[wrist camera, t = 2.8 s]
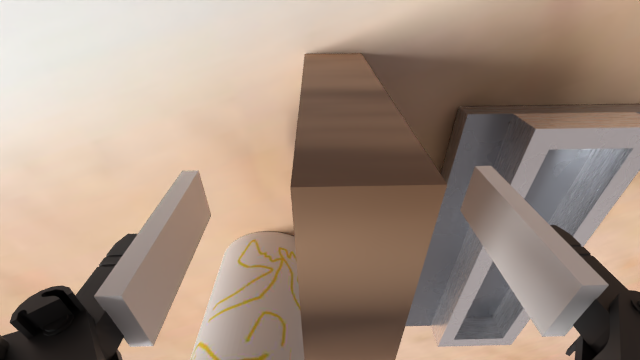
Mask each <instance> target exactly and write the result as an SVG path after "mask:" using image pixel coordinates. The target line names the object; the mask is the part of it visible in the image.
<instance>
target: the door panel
mask: <svg viewBox="0 0 640 360" xmlns="http://www.w3.org/2000/svg"><path fill="white" fill-rule="evenodd" d="M446 187H447V183H446V182H445V180H444V179H443V177H442V176H441V174H440V173H439V171H438V170H437V168H436V167H435V165H434V164H433V162H432V160H431V159H430V157H429V156H428V154H427V153H426V151H425V150H424V148H423V147H422V145H421V144H420V142H419V141H418V139H417V138H416V136H415V135H414V133H413V131H412V130H411V128H410V127H409V125H408V124H407V122H406V121H405V119H404V118H403V116H402V115H401V113H400V112H399V110H398V109H397V107H396V106H395V104H394V102H393V101H392V99H391V98H390V96H389V95H388V93H387V92H386V90H385V89H384V87H383V86H382V84H381V83H380V81H379V80H378V78H377V77H376V75H375V73H374V72H373V70H372V69H371V67H370V66H369V64H368V63H367V61H366V60H365V58H364V57H363V55H362V54H361V53H351V54H305V57H304V67H303V76H302V85H301V95H300V104H299V113H298V123H297V132H296V141H295V151H294V160H293V169H292V179H291V199H292V212H293V224H294V237H295V249H296V261H297V274H298V286H299V299H300V311H301V324H302V336H303V349H304V360H395V358H396V355H397V352H398V348H399V345H400V342H401V338H402V335H403V332H404V328H405V325H406V322H407V318H408V315H409V311H410V308H411V305H412V301H413V298H414V295H415V291H416V288H417V285H418V281H419V278H420V275H421V271H422V268H423V264H424V261H425V258H426V254H427V251H428V248H429V244H430V241H431V238H432V234H433V231H434V228H435V224H436V221H437V218H438V214H439V211H440V207H441V204H442V201H443V197H444V194H445V191H446Z"/></svg>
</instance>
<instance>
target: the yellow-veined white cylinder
mask: <svg viewBox="0 0 640 360" xmlns="http://www.w3.org/2000/svg"><path fill="white" fill-rule="evenodd" d="M190 360H304V349H303V336H302V324H301V311H300V299H299V286H298V274H297V261H296V249H295V237H294V236H291V235H288V234H284V233H279V232H256V233H251V234H248V235H245V236H242V237H240V238H238V239H237V240H235V241H234V242H233V243H231V244H230V245H229V247H228V248H227V249H226V251H225V253H224V256H223V259H222V263H221V266H220V269H219V272H218V275H217V278H216V281H215V284H214V287H213V290H212V293H211V297H210V300H209V303H208V306H207V309H206V312H205V315H204V318H203V321H202V324H201V328H200V331H199V334H198V337H197V340H196V343H195V346H194V349H193V352H192V355H191V358H190Z"/></svg>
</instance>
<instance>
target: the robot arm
mask: <svg viewBox="0 0 640 360" xmlns="http://www.w3.org/2000/svg"><path fill="white" fill-rule="evenodd" d="M460 211H461V213H462V214H463V216H464V217H465V219H466V220H467V222H468V224H469V225H470V227H471V228H472V230H473V231H474V233H475V234H476V236H477V237H478V239H479V240H480V242H481V243H482V245H483V246H484V248H485V250H486V251H487V253H488V254H489V256H490V257H491V259H492V260H493V262H494V263H495V265H496V266H497V268H498V269H499V271H500V273H501V274H502V276H503V277H504V279H505V280H506V282H507V283H508V285H509V286H510V288H511V289H512V291H513V292H514V294H515V296H516V297H517V299H518V300H519V302H520V303H521V305H522V306H523V308H524V309H525V311H526V312H527V314H528V315H529V317H530V318H531V320H532V322H533V323H534V325H535V326H536V328H537V329H538V331H539V332H540V334H541V335H542V337H543V336H565V335H566V334H567V333H568V331H569V330H570V329H571V328H572V327H573V326H574V327H575V328H576V330H577V331H578V332H579V334H580V336H579V337H578V339H577V340H576V341H575V342H574V343H573V344H572V345H571V346H570V347H569V348H568V350H567V352H566V354H567V355H569V356H570V355H571V354H572V353H573V352H574V351H575V360H640V292H637V291H631V290H628V289H627V288H626V287H625V286H624V285H622V284H621V283H620V282H619V281H618V280H617V279H616V278H615V277H614V276H613V275H612V274H611V273H610V272H609V271H608V270H607V269H606V268H605V267H604V266H603V265H602V264H601V263H600V262H599V261H598V260H597V259H596V258H595V257H594V256H591V255H590V253H589V252H588V251H587V250H586V249H585V248H584V247H582V246H581V244H580V243H579V242H578V241H577V240H576V239H575V238H574V237H573V236H572V235H571V234H569V233H568V232H566V231H565V230H563V229H561V228H560V227H558V226H557V225H549V224H548V223H547V222H546V221H545V220H544V219H543V218H542V217H541V216H540V215H539V214H538V213H537V212H536V211H535V210H534V209H533V208H532V207H531V206H530V205H529V204H528V203H527V202H526V201H525V200H524V198H523V197H522V196H521V195H520V194H519V193H518V192H517V191H516V190H515V189H514V188H513V187H512V186H511V185H510V184H509V183H508V182H507V181H506V180H505V179H504V178H503V177H502V176H501V175H500V174H499V173H498V172H497V171H496V170H495V169H494V168H493V167H492V166H475V168H474V171H473V174H472V177H471V180H470V183H469V186H468V189H467V192H466V195H465V198H464V200H463V203H462V206H461V209H460ZM210 217H211V213H210V209H209V206H208V202H207V199H206V195H205V192H204V188H203V185H202V181H201V178H200V174H199V171H182V172H181V173H180V175H179V176H178V178H177V179H176V180H175V182H174V183H173V185H172V186H171V188H170V189H169V190H168V192H167V193H166V195H165V196H164V197H163V199H162V200H161V202H160V203H159V205H158V206H157V207H156V209H155V210H154V212H153V213H152V214H151V216H150V217H149V219H148V220H147V222H146V223H145V224H144V226H143V227H142V229H141V230H140V232H139V233H138V234H127V235H126V236H125V237H123V238H122V239H121V240H120V241H118V242H117V243H116V244H115V245H114V246H113V247H112V249H111V250H110V251H109V253H108V254H107V257H105V258H104V259H103V260H102V262H101V263H100V264H99V267H97V268H96V270H95V271H94V272H93V273H92V275H91V276H90V277H89V279H88V280H87V281H86V283H85V284H84V285H83V287H82V288H81V289H80V290H79V292H78V293H77V294H76V296H75V294H74V293H73V292H72V291H71V289H70V288H69V287H65V286H55V287H50V288H47V289H45V290H42V291H40V292H38V293H36V294H34V295H33V296H31V297H29V298H28V299H27V300H26V301H24V302H23V303H22V304H21V305H19V307H18V308H17V309H16V310H15V312H14V313H13V314H12V317H11V320H10V323H11V324H12V325H13V326H14V327H15V328H16V329H17V330H18V331H17V332H14V333H10V334H7V335H4V336H1V335H0V360H122V357H121V353H120V352H119V351H118V347H119V345H120V343H121V341H122V339H123V338H124V339H125V340H126V341H127V343H128V344H129V346H130V347H133V346H154V343H155V341H156V339H157V337H158V334H159V332H160V330H161V328H162V325H163V323H164V321H165V319H166V316H167V314H168V312H169V309H170V307H171V305H172V303H173V300H174V298H175V296H176V294H177V291H178V289H179V287H180V285H181V282H182V280H183V278H184V276H185V273H186V271H187V269H188V267H189V264H190V262H191V260H192V258H193V255H194V253H195V251H196V248H197V246H198V244H199V242H200V239H201V237H202V235H203V233H204V230H205V228H206V226H207V224H208V221H209V219H210Z"/></svg>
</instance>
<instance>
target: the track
mask: <svg viewBox="0 0 640 360" xmlns="http://www.w3.org/2000/svg"><path fill="white" fill-rule="evenodd" d="M475 166H492V167H493V168H494V169H495V170H496V171H497V172H498V173H499V174H500V175H501V176H502V177H503V178H504V179H505V180H506V181H507V182H508V183H509V184H510V185H511V186H512V187H513V188H514V189H515V190H516V191H517V192H518V193H519V194H520V195H521V196H522V197H523V198H524V200H525V201H526V202H527V203H528V204H529V205H530V206H531V207H532V208H533V209H534V210H535V211H536V212H537V213H538V214H539V215H540V216H541V217H542V218H543V219H544V220H545V221H546V222H547V223H548V224H549V225H557V226H558V227H560V228H561V229H563V230H565V231H566V232H568V233H569V234H571V235H572V236H573V237H574V238H575V239H576V240H577V241H578V242H579V243H580V244H581V246H582V247H583V246H584V245H585V244H586V242H587V241H588V239H589V238H590V237H591V235H592V234H593V233H594V231H595V230H596V229H597V227H598V226H599V224H600V223H601V222H602V220H603V219H604V218H605V216H606V215H607V214H608V212H609V211H610V210H611V208H612V207H613V205H614V204H615V203H616V201H617V200H618V199H619V197H620V196H621V195H622V193H623V192H624V190H625V189H626V188H627V186H628V185H629V184H630V182H631V181H632V180H633V178H634V177H635V176H636V174H637V173H638V171H639V170H640V104H612V105H541V106H471V107H459V108H458V112H457V116H456V119H455V123H454V127H453V130H452V134H451V137H450V141H449V145H448V148H447V152H446V156H445V159H444V163H443V167H442V170H441V176H442V177H443V179H444V180H445V182H446V183H447V187H446V191H445V194H444V197H443V201H442V204H441V207H440V211H439V214H438V218H437V221H436V224H435V228H434V231H433V234H432V238H431V241H430V244H429V248H428V251H427V254H426V258H425V261H424V264H423V268H422V271H421V275H420V278H419V281H418V285H417V288H416V291H415V295H414V298H413V301H412V305H411V308H410V311H409V315H408V318H407V322H406V325H405V326H430V325H431V328H432V331H433V334H434V337H435V340H436V343H437V346H479V345H511V344H512V343H513V341H514V340H515V339H516V337H517V336H518V335H519V333H520V332H521V331H522V329H523V328H524V327H525V325H526V324H527V322H528V321H529V320H530V317H529V315H528V314H527V312H526V311H525V309H524V308H523V306H522V305H521V303H520V302H519V300H518V299H517V297H516V296H515V294H514V292H513V291H512V289H511V288H510V286H509V285H508V283H507V282H506V280H505V279H504V277H503V276H502V274H501V273H500V271H499V269H498V268H497V266H496V265H495V263H494V262H493V260H492V259H491V257H490V256H489V254H488V253H487V251H486V250H485V248H484V246H483V245H482V243H481V242H480V240H479V239H478V237H477V236H476V234H475V233H474V231H473V230H472V228H471V227H470V225H469V224H468V222H467V220H466V219H465V217H464V216H463V214H462V213H461V211H460V209H461V206H462V203H463V200H464V198H465V195H466V192H467V189H468V186H469V183H470V180H471V177H472V174H473V171H474V168H475Z"/></svg>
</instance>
